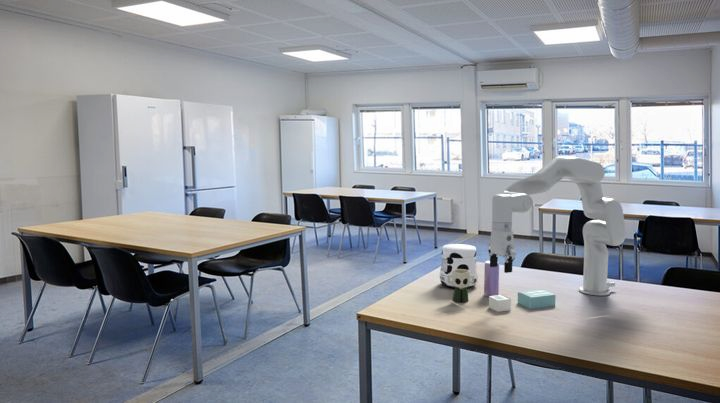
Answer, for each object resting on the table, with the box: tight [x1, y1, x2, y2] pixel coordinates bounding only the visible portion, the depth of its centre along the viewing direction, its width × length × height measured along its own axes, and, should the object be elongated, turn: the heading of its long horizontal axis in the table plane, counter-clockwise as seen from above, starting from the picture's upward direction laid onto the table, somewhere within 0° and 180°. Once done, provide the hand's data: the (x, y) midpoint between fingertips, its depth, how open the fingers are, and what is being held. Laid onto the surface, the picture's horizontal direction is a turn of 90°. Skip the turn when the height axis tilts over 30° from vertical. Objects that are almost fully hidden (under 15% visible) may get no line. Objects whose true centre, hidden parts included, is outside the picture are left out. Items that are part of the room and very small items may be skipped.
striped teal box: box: [517, 288, 556, 309], centre depth 216 cm, size 12×8×5 cm, turn 109°
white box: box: [488, 294, 512, 313], centre depth 211 cm, size 6×6×5 cm
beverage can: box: [483, 260, 500, 298], centre depth 228 cm, size 6×6×15 cm
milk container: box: [439, 243, 479, 289], centre depth 246 cm, size 17×17×18 cm
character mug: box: [448, 269, 474, 303], centre depth 221 cm, size 11×7×13 cm, turn 86°
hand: (500, 269), depth 209 cm, fingers open, 9 cm apart
